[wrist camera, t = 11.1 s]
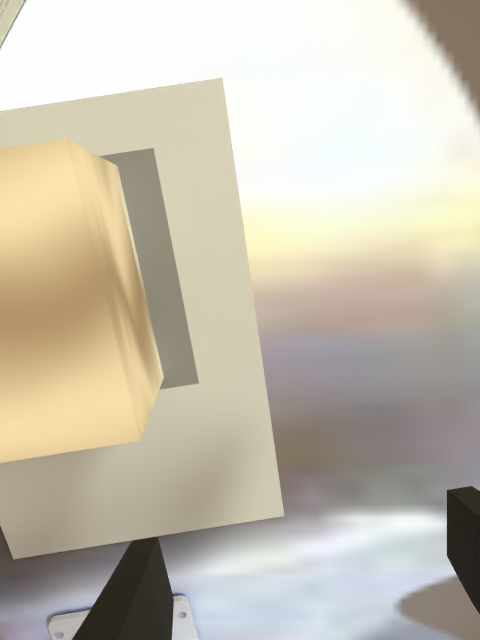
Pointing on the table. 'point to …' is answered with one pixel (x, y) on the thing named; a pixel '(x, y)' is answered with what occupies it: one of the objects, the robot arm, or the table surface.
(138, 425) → the block
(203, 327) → the board
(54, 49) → the table surface
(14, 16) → the small box
